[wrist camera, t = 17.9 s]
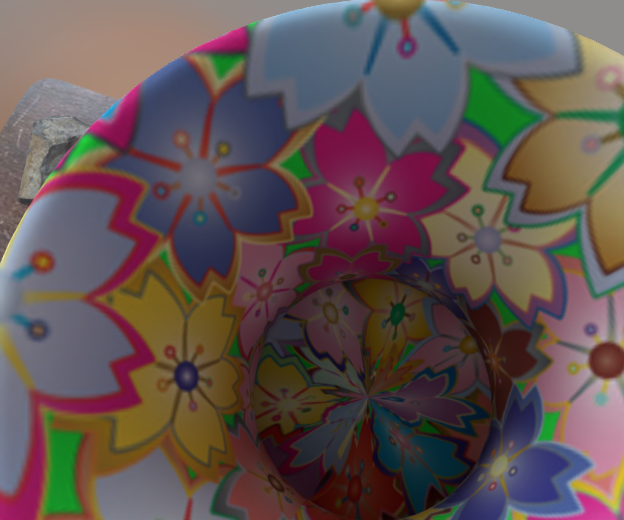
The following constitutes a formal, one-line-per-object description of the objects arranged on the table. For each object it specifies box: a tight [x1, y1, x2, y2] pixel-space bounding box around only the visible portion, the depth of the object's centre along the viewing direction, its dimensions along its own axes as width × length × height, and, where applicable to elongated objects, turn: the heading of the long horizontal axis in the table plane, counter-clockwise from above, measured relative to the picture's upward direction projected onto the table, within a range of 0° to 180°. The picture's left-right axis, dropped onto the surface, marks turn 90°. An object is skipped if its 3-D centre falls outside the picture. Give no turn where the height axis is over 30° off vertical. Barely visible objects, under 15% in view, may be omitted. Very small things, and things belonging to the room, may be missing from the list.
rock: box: [18, 116, 90, 206], centre depth 51 cm, size 14×11×5 cm
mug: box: [0, 0, 624, 520], centre depth 10 cm, size 12×9×11 cm
